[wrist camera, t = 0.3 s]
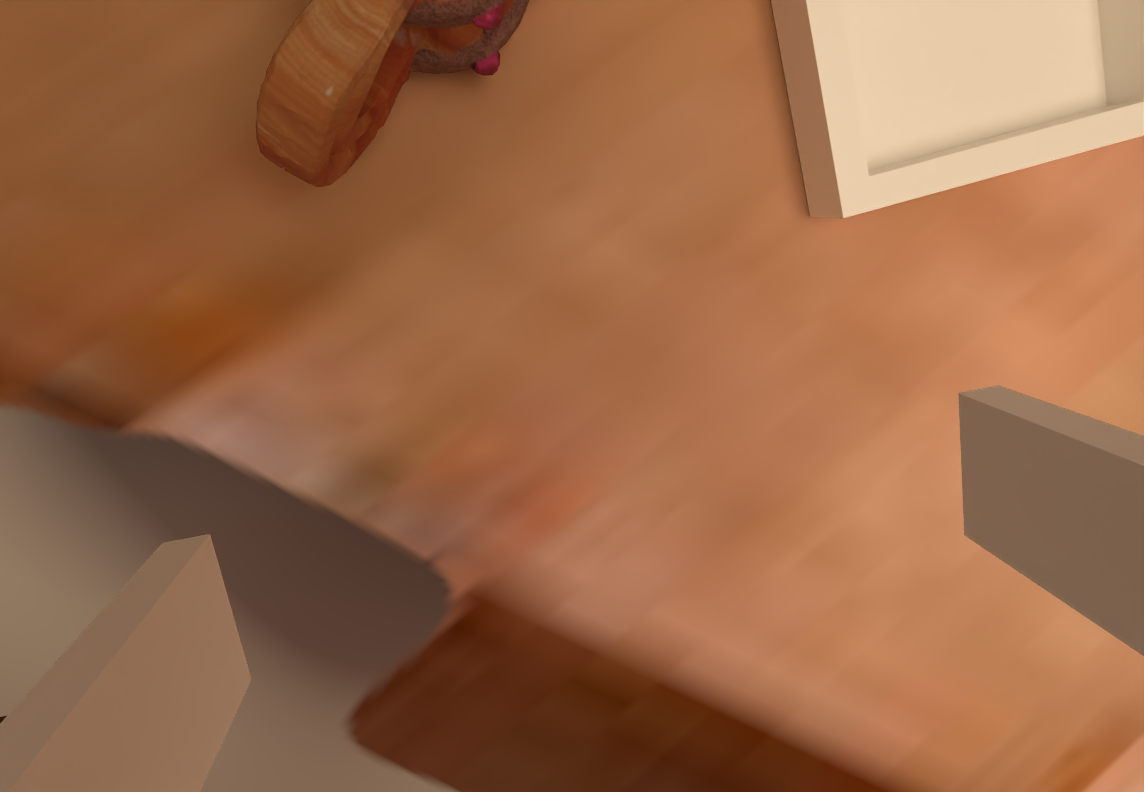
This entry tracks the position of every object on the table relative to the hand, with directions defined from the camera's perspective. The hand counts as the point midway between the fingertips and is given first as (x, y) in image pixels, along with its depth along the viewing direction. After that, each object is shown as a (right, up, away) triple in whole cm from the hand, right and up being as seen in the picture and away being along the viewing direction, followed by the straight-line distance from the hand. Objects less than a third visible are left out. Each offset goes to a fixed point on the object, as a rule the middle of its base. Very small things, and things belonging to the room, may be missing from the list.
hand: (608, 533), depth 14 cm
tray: (+18, +20, +26) cm, 37 cm away
